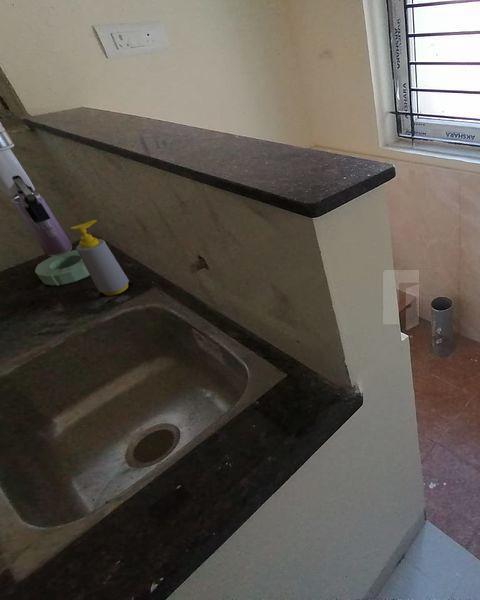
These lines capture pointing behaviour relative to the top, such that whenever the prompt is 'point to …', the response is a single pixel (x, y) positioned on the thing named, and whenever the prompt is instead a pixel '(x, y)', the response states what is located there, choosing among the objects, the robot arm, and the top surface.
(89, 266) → the soap bottle
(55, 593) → the top surface
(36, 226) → the beverage can
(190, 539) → the top surface
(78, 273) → the socket pad
